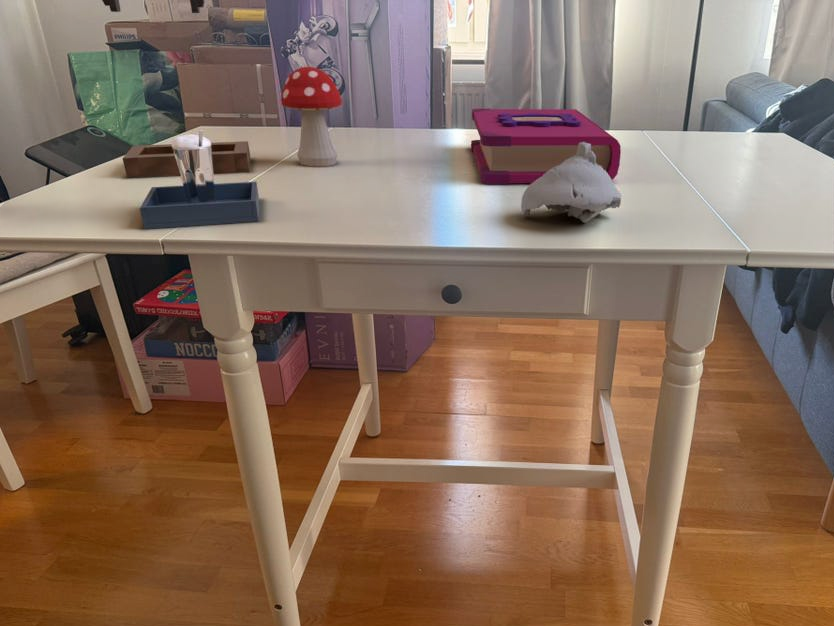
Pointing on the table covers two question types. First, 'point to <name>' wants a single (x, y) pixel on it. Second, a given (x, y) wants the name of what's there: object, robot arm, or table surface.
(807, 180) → the table surface
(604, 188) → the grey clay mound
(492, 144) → the book
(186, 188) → the milkshake
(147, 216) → the tray
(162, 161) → the tray
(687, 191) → the table surface
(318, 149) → the decorative mushroom
